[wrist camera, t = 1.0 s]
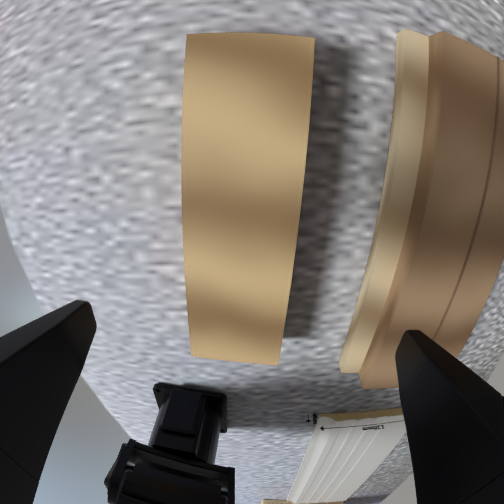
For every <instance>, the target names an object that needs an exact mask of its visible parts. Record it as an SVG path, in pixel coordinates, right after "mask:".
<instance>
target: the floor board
mask: <svg viewBox="0 0 504 504" xmlns="http://www.w3.org/2000/svg"><path fill="white" fill-rule="evenodd" d="M503 259H504V61H503V60H501V59H500V58H499V57H496V56H494V55H492V54H491V53H489V52H487V51H485V50H483V49H481V48H479V47H477V46H475V45H473V44H471V43H469V42H467V41H465V40H463V39H460V38H458V37H456V36H454V35H451V34H449V33H447V32H444V31H442V32H439V33H437V34H434V35H431V36H429V37H428V36H425V35H423V34H420V33H417V32H414V31H411V30H408V29H403V30H402V31H400V32H398V33H396V74H395V92H394V105H393V116H392V126H391V135H390V144H389V151H388V159H387V166H386V172H385V179H384V185H383V191H382V197H381V202H380V208H379V213H378V218H377V223H376V228H375V232H374V237H373V242H372V246H371V250H370V255H369V259H368V263H367V267H366V271H365V275H364V279H363V283H362V287H361V290H360V294H359V298H358V301H357V305H356V308H355V312H354V315H353V318H352V322H351V325H350V328H349V331H348V334H347V338H346V341H345V344H344V347H343V350H342V353H341V356H340V359H339V366H340V372H341V373H359V376H360V380H361V385H362V389H379V388H394V387H399V385H398V377H397V369H396V362H395V353H396V349H397V347H398V345H399V343H400V341H401V338H402V336H403V334H404V332H405V331H406V330H413V329H417V330H420V331H422V332H423V333H424V334H426V335H427V336H428V337H429V338H431V339H432V340H433V341H435V342H436V343H437V344H439V345H440V346H441V347H442V348H444V349H445V350H446V351H448V352H449V353H450V354H451V355H453V356H454V357H455V358H457V357H458V356H459V354H460V352H461V350H462V349H463V347H464V345H465V343H466V341H467V340H468V338H469V336H470V334H471V332H472V330H473V328H474V326H475V324H476V322H477V320H478V318H479V316H480V314H481V312H482V310H483V308H484V305H485V303H486V301H487V299H488V297H489V294H490V292H491V290H492V287H493V285H494V282H495V280H496V277H497V275H498V272H499V270H500V267H501V264H502V261H503Z"/></svg>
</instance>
